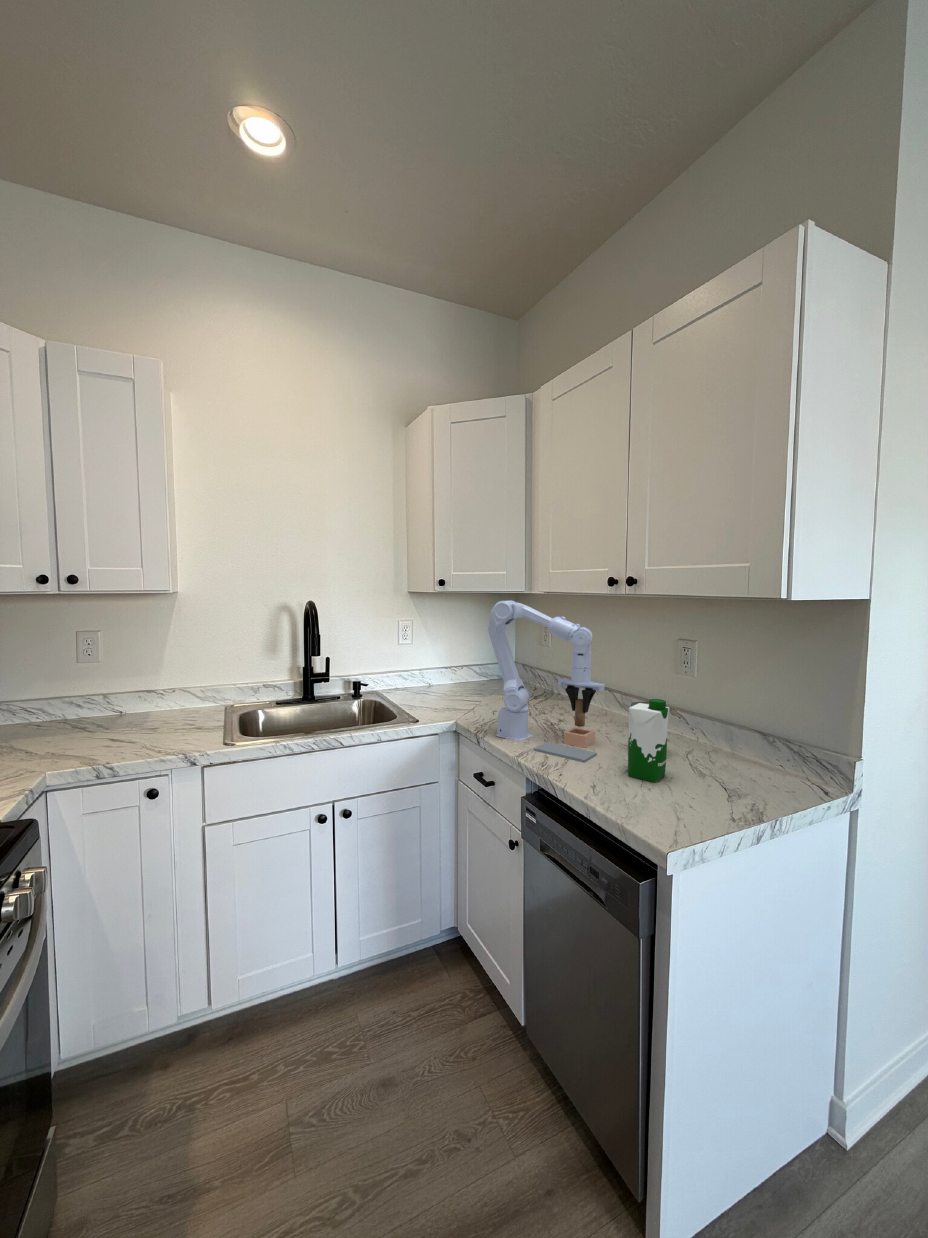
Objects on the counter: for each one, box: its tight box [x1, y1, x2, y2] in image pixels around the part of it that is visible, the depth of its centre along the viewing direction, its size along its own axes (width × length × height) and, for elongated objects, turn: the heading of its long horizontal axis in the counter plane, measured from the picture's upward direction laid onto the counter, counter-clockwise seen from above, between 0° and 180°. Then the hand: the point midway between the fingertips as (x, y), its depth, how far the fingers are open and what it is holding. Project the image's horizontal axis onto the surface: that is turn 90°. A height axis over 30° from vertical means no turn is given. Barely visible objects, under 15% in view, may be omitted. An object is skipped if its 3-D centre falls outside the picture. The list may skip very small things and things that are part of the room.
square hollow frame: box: [563, 726, 596, 749], centre depth 159 cm, size 7×7×4 cm
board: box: [533, 741, 598, 764], centre depth 149 cm, size 16×8×1 cm, turn 52°
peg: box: [574, 698, 586, 728], centre depth 158 cm, size 3×3×8 cm
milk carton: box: [627, 698, 670, 784], centre depth 132 cm, size 9×9×20 cm
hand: (580, 711), depth 158 cm, fingers closed on peg, 3 cm apart
